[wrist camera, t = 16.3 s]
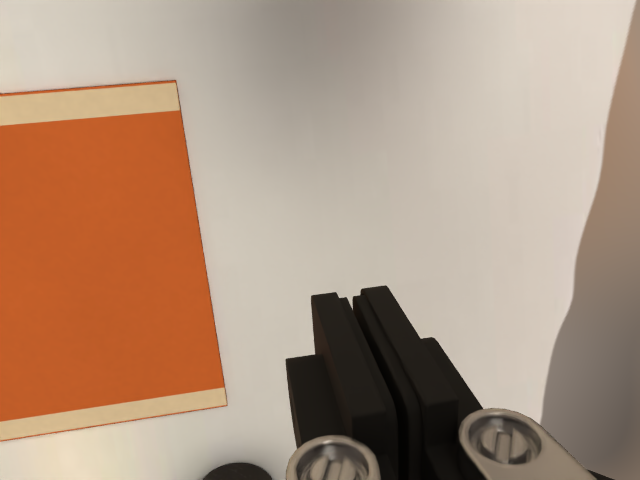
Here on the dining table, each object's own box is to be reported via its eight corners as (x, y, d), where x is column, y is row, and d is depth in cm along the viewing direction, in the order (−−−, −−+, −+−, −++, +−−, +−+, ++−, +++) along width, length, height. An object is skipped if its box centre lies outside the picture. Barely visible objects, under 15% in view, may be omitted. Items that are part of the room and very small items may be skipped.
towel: (-162, 106, 32) (-167, 107, 31) (175, 80, 34) (175, 80, 34) (-29, 442, 42) (-31, 446, 41) (227, 402, 44) (227, 406, 44)
